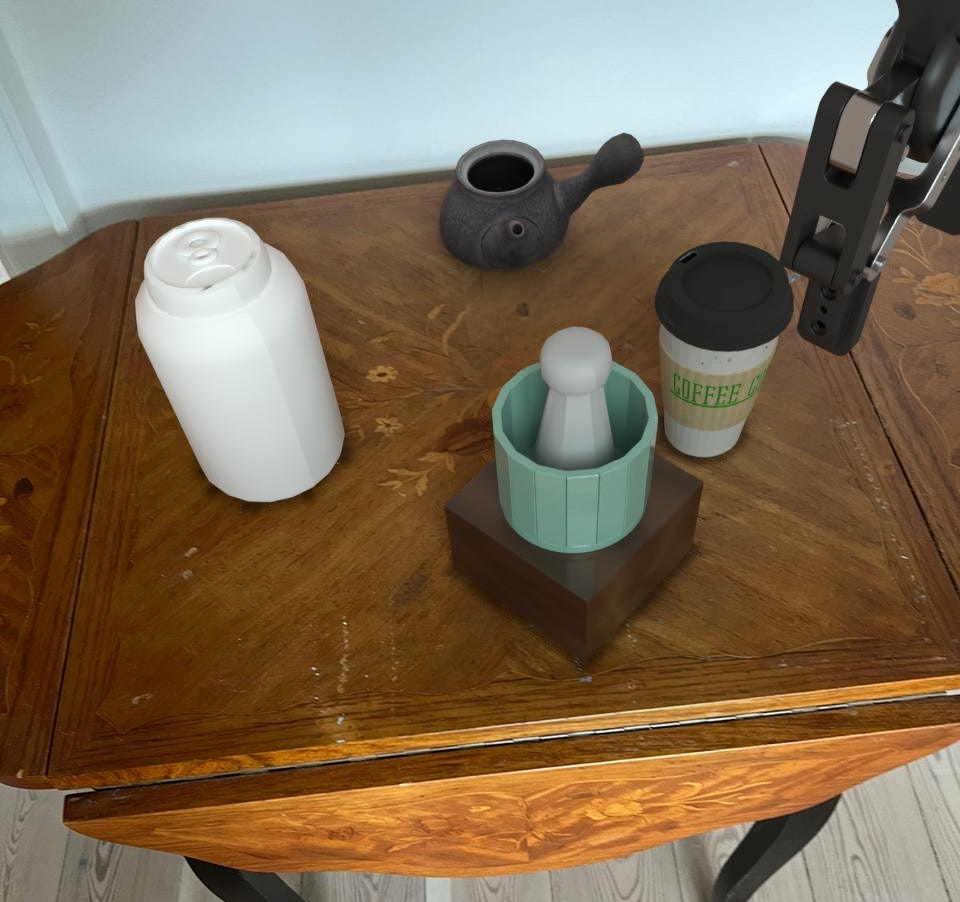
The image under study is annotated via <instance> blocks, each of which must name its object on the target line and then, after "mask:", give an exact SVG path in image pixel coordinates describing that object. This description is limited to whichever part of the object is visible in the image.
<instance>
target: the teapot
mask: <svg viewBox="0 0 960 902" xmlns="http://www.w3.org/2000/svg"><path fill="white" fill-rule="evenodd" d="M644 161H645V153H644V150H643V149H642V146H641V144H640V141H638V139H637V138H636V137H635V136H634V135H632V134H631V133H627V132H622V133H618V134H617V135H613V136H612V137H610V138H609V139H608V140H607V141H605V142H604V143H603V144H602V145H601V147H600V148H599V149H598V151H597V152H596V154H595V156H594V158H593V160H592V161H591V162H590V164H589V165H588V166H587V168H585V169H584V170H583V171H582V172H581V173H579V174H577V175H575V176H571V177H568V178H565V179H563V180H561V181H560V182H559V181H556V180H555V179H554V177H553V175H552V174H551V173H550V171H548V169H547V167H546V161H545V158H544V156H543V155H542V153H541V152H540V151H539V150H538V149H537V148H535V147H533V146H532V145H530V144H528V143H526V142H522V141H518V140H515V139H497V140H489V141H486V142H482V143H480V144H477V145H475V146H473V147H471V148H470V149H469V150H467V151H466V152H465V153H463V154H462V155H461V156H460V158H459V159H458V160H457V163H456V166H455V172H454V173H455V176H454V177H453V179H452V181H451V183H450V184H449V186H448V188H447V190H446V191H445V194H444V195H443V196H444V197H443V199H442V202H441V206H440V210H439V216H438V226H439V227H438V229H439V234H440V237H441V241H442V242H443V244H444V246H445V248H446V249H447V251H448V252H449V253H450V254H451V255H452V256H453V257H454V258H456V259H457V260H458V261H460V262H462V263H464V264H466V265H469V266H472V267H476V268H480V269H483V270H494V271H502V270H514V269H519V268H523V267H527V266H529V265H532V264H535V263H538V262H539V261H542V260H544V259H545V258H547V257H549V256H550V255H551V254H552V253H553V252H554V251H556V250H557V249H558V248H559V246H561V243H562V242H563V241H564V239H565V236H566V233H567V231H568V227H569V224H570V223H569V222H570V218H571V217H572V215H573V214H574V213H575V212H576V211H578V210H579V208H581V207H582V205H583V204H584V203H585V202H586V201H587V200H588V198H589V196H590V195H591V194H592V193H593V192H595V191H597V190H599V189H603V188H607V187H611V186H617V185H618V186H619V185H622V184H624V183H626V182H627V181H628V180H630V179H632V178H633V177H634V176H635V175H636V174H637V173H638V172H639V171H640V170H641V168H642V166H643V163H644Z"/></svg>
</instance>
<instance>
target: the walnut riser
mask: <svg viewBox="0 0 960 902" xmlns="http://www.w3.org/2000/svg"><path fill="white" fill-rule="evenodd" d="M704 483H705V481H703V480H701V479H699V478H698V477H696V476H695V475H693V474H691V473H690V472H688V471H686V470H684V469H682V468H681V467H679V466H678V465H676V464H675V463H672V462H671V461H669V460H667V459H665V458H664V457H662V456H660V455H659V454H657V453H656V452H654V459H653V468H652V477H651V486H650V493H649V496H648V501H647V505H646V509H645V512H644V514H643V516H642V518H641V520H640V521H639V523H638V524H637V525H636V526H635V528H634V529H633V530H632V531H631V532H630V533H629V534H627V535H626V536H625V537H624V538H622V539H621V540H619V541H618V542H616V543H614V544H612V545H610V546H607V547H605V548H602V549H599V550H595V551H591V552H584V553H561V552H555V551H550V550H547V549H544V548H541V547H539V546H536V545H534V544H532V543H530V542H529V541H527V540H525V539H524V538H523V537H521V536H520V535H519V534H518V533H517V532H516V531H515V530H514V529H513V528H512V527H511V526H510V524H509V523H508V522H507V520H506V518H505V516H504V514H503V512H502V509H501V505H500V499H499V487H498V476H497V465H496V457H495V458H494V459H492V461H490V463H489V464H487V465H486V466H485V467H483V468H482V470H481V471H479V472H478V473H477V474H476V475H475V476H474V477H473V478H472V479H471V480H470V481H469V482H467V483H466V484H465V485H464V486H463V487H462V488H461V489H460V490H459V491H458V492H456V494H454V496H452V497H451V498H450V499H449V500H448V501H447V502H445V503H444V505H443V508H444V516H445V521H446V526H447V533H448V539H449V544H450V552H451V557H452V563H453V569H454V571H456V572H457V573H458V574H459V575H461V576H463V577H464V578H466V579H467V580H469V582H471V583H472V584H474V585H476V586H477V587H479V588H480V589H481V590H483V591H484V592H486V593H487V594H488V595H490V596H491V597H493V598H494V599H496V601H498V602H499V603H501V604H502V605H504V606H505V607H506V608H508V609H510V610H511V611H513V612H514V613H516V614H517V615H518V616H519V617H520V618H522V619H524V620H525V621H526V622H528V623H529V624H531V625H532V626H533V627H535V628H537V629H538V630H539V631H541V632H542V633H544V634H545V635H546V636H548V637H549V638H550V639H552V640H554V641H555V642H556V643H558V644H559V645H561V646H562V647H563V648H564V649H566V650H567V651H569V652H571V654H573V655H574V656H576V657H577V658H579V659H580V660H582V661H583V662H585V663H587V661H588V660H589V659H590V658H591V657H592V656H593V655H594V654H595V653H596V652H597V651H598V649H599V648H600V647H602V645H603V644H604V643H606V641H607V640H608V639H609V638H610V637H611V636H612V635H613V633H614V632H616V630H617V629H618V628H619V627H620V626H621V625H622V624H623V623H624V622H625V621H626V620H627V619H628V618H629V616H630V615H632V613H633V612H634V611H635V610H636V609H637V608H638V607H639V606H640V604H641V603H643V601H644V600H646V598H648V596H649V595H651V593H652V592H653V591H654V590H655V589H656V587H657V586H658V585H659V584H661V582H662V581H663V580H664V579H665V578H666V577H667V576H668V575H669V574H670V573H671V571H672V570H673V569H674V568H675V567H676V566H677V565H678V564H679V563H680V562H681V561H682V560H683V559H684V557H685V556H686V555H687V554H688V553H690V552H691V550H692V548H693V544H694V539H695V532H696V526H697V522H698V517H699V511H700V505H701V500H702V493H703V488H704Z"/></svg>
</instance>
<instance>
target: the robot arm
mask: <svg viewBox="0 0 960 902" xmlns="http://www.w3.org/2000/svg"><path fill="white" fill-rule="evenodd" d="M895 3H896V7H897V10H898V16H897V18H896V20H895V21H894V22H893V25H892V26H891V27H890V28H888V30H887V31H886V33H885V34H884V36H883V38H882V40H881V42H880V43H879V45H878V48H877V50H876V52H875V54H874V55H873V58H872V60H871V62H870V64H869V66H868V68H867V71H866V81H867V86H866V88H864V89H863V90H861V89H858V88H856V87H853V86H851V85H848V84H846V83H842V82H840V81H837V80H836V81H834V82H833V83H831V84H829V87H827V89H826V90H825V92H824V94H823V95H822V97H821V99H820V100H819V102H818V105H817V109H816V113H815V117H814V121H813V125H812V129H811V132H810V137H809V140H808V143H807V148H806V153H805V157H804V161H803V164H802V169H801V172H800V176H799V180H798V184H797V188H796V193H795V197H794V200H793V204H792V208H791V213H790V216H789V220H788V225H787V229H786V232H785V236H784V240H783V244H782V248H781V252H780V255H779V256H780V257H779V260H778V261H779V262H780V265H781V266H783V267H784V269H787V270H789V271H792V272H793V273H795V272H796V274H797V273H798V274H799V275H800V276H802V277H804V278H806V279H808V282H807V285H806V289H805V292H804V298H803V301H802V305H801V309H800V313H799V317H798V321H797V324H796V330H797V333H798V335H799V336H800V338H801V339H802V340H803V341H805V342H808V343H810V344H812V345H814V346H816V347H817V348H820V349H822V350H824V351H826V352H828V353H830V354H833V355H834V356H836V357H844V356H846V355H848V354H849V353H850V352H851V350H852V349H853V348H855V346H856V345H857V344H858V343H859V341H860V339H861V336H862V333H863V330H864V328H865V327H864V326H865V325H866V321H867V318H868V315H869V312H870V309H871V306H872V304H873V303H872V302H873V300H874V297H875V293H876V290H877V288H878V286H879V285H878V284H879V282H880V279H881V276H882V272H883V271H884V269H885V268H886V265H887V263H888V261H889V260H888V259H889V257H890V255H891V253H892V251H893V250H894V247H895V246H896V244H897V242H898V240H899V238H900V237H901V235H902V233H903V230H904V229H905V227H906V226H907V223H908V222H909V220H910V219H911V218H912V217H915V218H916V220H917V221H918V222H920V223H922V224H924V225H926V226H928V227H931V228H934V229H936V230H938V231H940V232H943V233H945V234H947V235H950V236H960V0H895ZM906 159H909V160H912V161H914V162H917V163H919V164H920V163H922V164H926V165H925V168H924V170H922V172H921V173H919V175H917V176H915V177H913V178H904V177H901V176H899V175H897V173H898V170H899V168H900V165H901V163H902V162H904V161H905V160H906ZM886 206H887V208H886ZM885 209H886V212H885ZM884 212H885V213H884Z"/></svg>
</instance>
